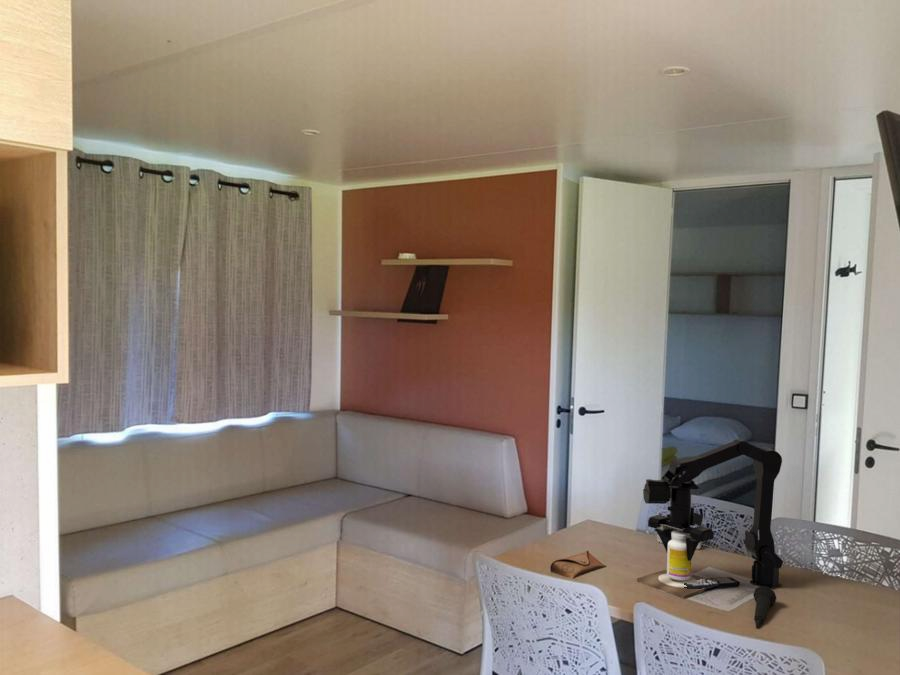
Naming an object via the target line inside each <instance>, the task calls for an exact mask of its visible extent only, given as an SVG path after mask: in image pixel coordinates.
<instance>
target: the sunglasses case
mask: <svg viewBox="0 0 900 675" xmlns="http://www.w3.org/2000/svg"><path fill="white" fill-rule="evenodd" d="M549 568H550V573H553V574H556V575H559V576H562V577H565V578H568V579H571V580H573V579H575V578H577V577H579V576H583V575H585V574H587V573H590V572H593V571H596V570H600V569H604V568H607V565H606V564H603V563H602V562H601V561H600V560H598V558H596V557H595V556H594V555H593V554H592V553H590V551H589V550H586V551H584V552H581V553H578V554H574V555H570V556H567V557H565V558H559V559H556V560H554V561H553V562H552V563H551V564H550V567H549Z"/></svg>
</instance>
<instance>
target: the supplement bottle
mask: <svg viewBox="0 0 900 675" xmlns="http://www.w3.org/2000/svg"><path fill="white" fill-rule="evenodd" d="M671 537H672V540H670V541H669V542H668V548H667V552H666V554H667V555H666V557H667V558H666V569H667V575H668V576H669V577H670V578H672V579H675V580H688V579H689V578H690V577H691V574H692V571H691V570H692V559H691V560H690V561H688V558H687V549H686V538H688V533H685V532H682V531H672V533H671Z"/></svg>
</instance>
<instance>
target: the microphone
mask: <svg viewBox="0 0 900 675" xmlns="http://www.w3.org/2000/svg"><path fill="white" fill-rule="evenodd" d="M753 599H754V601H755V602H756V603H755V610H754V618H753V620H754V624H755V628H756V629H759V628H760V626H761V625H762V624H763V623H764V622H765V619H766V616H767V614H768V611H769V609H770V607H772V606H774V605H775V603H776V601H777V595H776V593H775V591H774V590H773V589H770V588H769V587H766V586H758V587H756V588H755V590H754V591H753Z"/></svg>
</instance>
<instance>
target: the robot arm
mask: <svg viewBox="0 0 900 675" xmlns="http://www.w3.org/2000/svg"><path fill="white" fill-rule="evenodd" d="M741 456H746V457H747V458H749V459H751V460H752V466H753V469H754V473H755V476H756V482H755V483H756V484H755V497H754V510H753V522H752V527H751V528H750V530H747V529H746V530H745V529H744V530H745V531H744V540H743V544H744V545H745V549H746V551H747V552H748V553H749V554H750V555H751V558H752V560H753V559H754V560H753V564H752V565H751V580H750V581H749V583H750V584H753V585H755V586H758V587H760V586H766V587H769V588H770V589H772V590H773V589H775V588H778V587H780V586H782V582H780V581H779V578H780V569H782V566H783V564H784V561H783V559H782V558H781V557H780V556H779V555H778V554H777V553H776V548H775V546H776V545H775V540H774V536H773V534H772V530H771V527H772V513H773V501H774V490H775V488H774V486H775V480H776V479H777V477H778V476H779V474H780V471H781V468H782V464H783V457H782V455H781V454H780V453H779V452H777V451H776V450H775V449H772V448H769V447H766V446H760V447H757V446H754V444H750V443H749V442H748V441H745V440H743V439H741V438H737V439H734V440H732V441H731V442H728V443H726V444H723V445H721V446H717V447H716V448H713V449H711V450H707V451H706V452H703V453H701V454H698V455H694V456H685V457H684V456H683V457H679V458H675V459H673V460H672V461H671V462H670V463H669V466H668V469H667V471H666V472H665V473H664V474H663V475H662V477H661V479H650V478H649V479H645V484H644V488H643V489H642V493H643V494H642V496H643V500H644V503H645V504H649V505H650V504H652V505H653V504H654V505H655V504H656V505H657V504H659V505H660V504H661V505H662V504H664V505H665V504H667V503H669V502H670V503H669V506H667V511H670V512H669V516H666V515H662V514H657V515H651V516H650V517H649V518H648V520H647V527H648V528H649V527H650V528H652V529H654V532H656V533H657V534H658V535H659V537H660V539H661V541H662V543H661V544H663V547H664V549H665V552H666V553H667V548H668V542H669V541H670V540H671V539H672V537H671V533H672V531H673V530H674V529H675V530H678V531H682V532H685V533H689V534H690V538H686V549H687V558H688V561H690V560H691V561H692V559H693V557H694V554H695V552H696V550H697V549H696V548H697V546H698V544H699V543H700V542H704V541H705V542H707V541H710V540H714V539H715V538H714V536H715V533H714V531H713V529H712V528H710V527H707V526H702V524H703V519H704V515H702V514H699V513H696V512H695V509H694V508H695V507H694V506H692V490H699V489H700V487H699V486H698V485H697V484H696V482H695V481H694V479H696V478H698V477H699V476H700V475H701V474H702V473H703V472H704V471H706V470H707V469H710V468H713V467H715V466H718V465H720V464H722V463H726V462H728V461H730V460H733V459H736V458H738V457H741ZM696 525H697V526H696ZM693 526H696V527H693Z"/></svg>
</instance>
